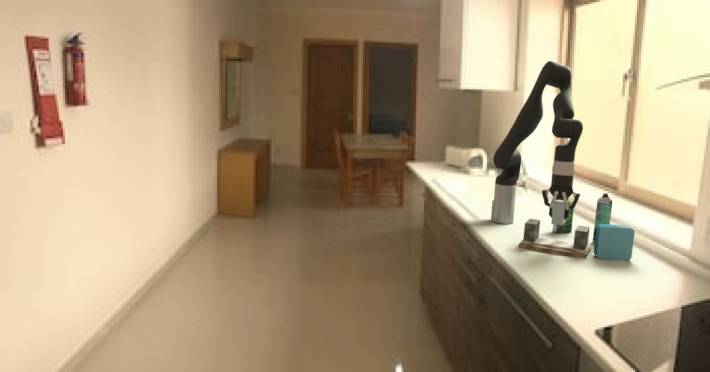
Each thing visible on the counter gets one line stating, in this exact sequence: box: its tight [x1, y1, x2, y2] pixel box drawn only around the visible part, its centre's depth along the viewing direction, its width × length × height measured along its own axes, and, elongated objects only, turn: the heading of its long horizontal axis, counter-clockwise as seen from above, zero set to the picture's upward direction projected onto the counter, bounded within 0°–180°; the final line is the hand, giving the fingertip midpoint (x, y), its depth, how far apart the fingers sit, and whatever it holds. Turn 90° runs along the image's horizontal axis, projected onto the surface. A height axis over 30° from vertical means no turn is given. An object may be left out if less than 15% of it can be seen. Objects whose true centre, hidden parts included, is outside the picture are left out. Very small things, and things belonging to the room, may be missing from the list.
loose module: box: [551, 200, 566, 225], centre depth 218 cm, size 4×7×8 cm, turn 152°
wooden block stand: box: [518, 218, 592, 260], centre depth 220 cm, size 24×14×9 cm, turn 62°
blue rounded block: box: [593, 224, 636, 262], centre depth 210 cm, size 12×4×12 cm, turn 83°
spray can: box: [592, 192, 613, 244], centre depth 231 cm, size 6×6×20 cm
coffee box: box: [552, 200, 574, 234], centre depth 246 cm, size 8×3×13 cm, turn 107°
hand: (558, 217), depth 218 cm, fingers closed on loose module, 4 cm apart
